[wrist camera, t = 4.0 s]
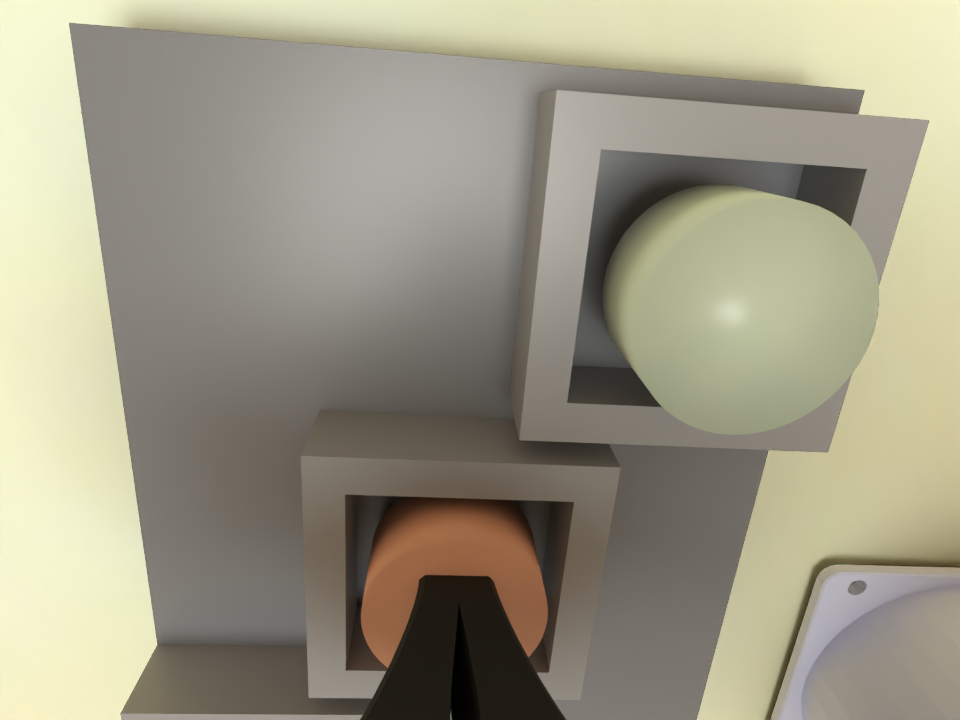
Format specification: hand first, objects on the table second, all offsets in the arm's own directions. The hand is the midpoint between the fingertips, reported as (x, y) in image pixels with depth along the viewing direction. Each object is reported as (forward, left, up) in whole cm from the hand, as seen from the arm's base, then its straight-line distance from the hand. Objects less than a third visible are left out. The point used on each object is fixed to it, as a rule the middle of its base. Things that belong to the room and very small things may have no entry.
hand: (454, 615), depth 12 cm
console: (0, 0, -5) cm, 5 cm away
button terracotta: (0, 0, -2) cm, 2 cm away
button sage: (-4, -6, -1) cm, 8 cm away
